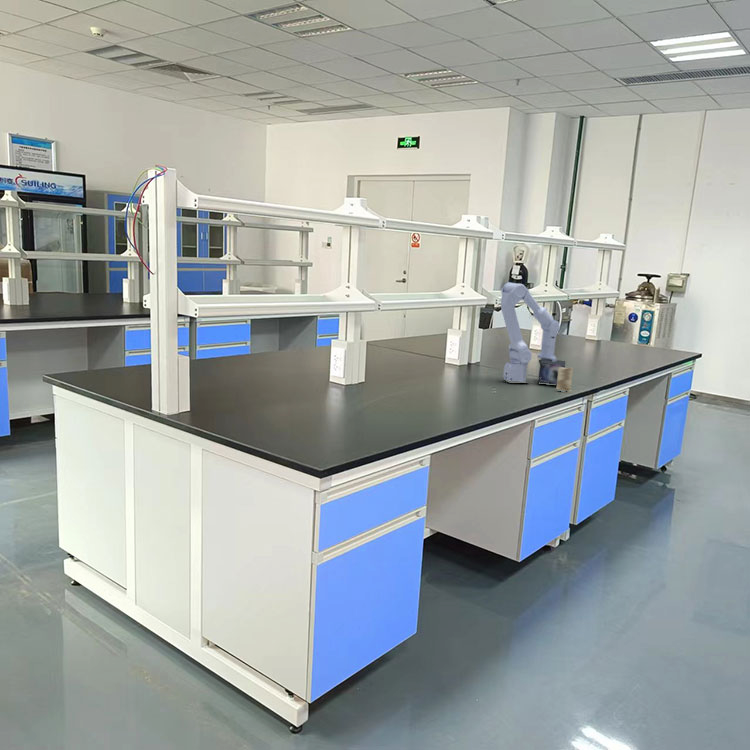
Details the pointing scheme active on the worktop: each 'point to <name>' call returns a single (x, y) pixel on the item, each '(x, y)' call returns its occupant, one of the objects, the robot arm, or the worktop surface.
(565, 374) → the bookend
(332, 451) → the worktop surface
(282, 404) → the worktop surface
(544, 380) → the small box
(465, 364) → the worktop surface
